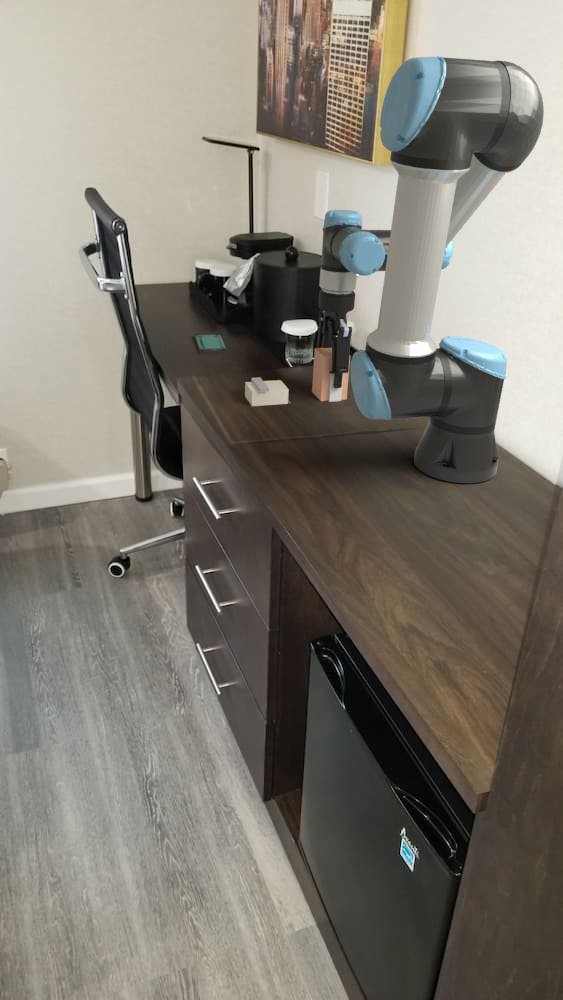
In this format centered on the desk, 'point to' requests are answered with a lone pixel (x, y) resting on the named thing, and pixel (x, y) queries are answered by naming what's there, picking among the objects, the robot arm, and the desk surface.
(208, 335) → the smartphone
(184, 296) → the desk surface
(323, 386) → the stub
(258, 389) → the cream block
